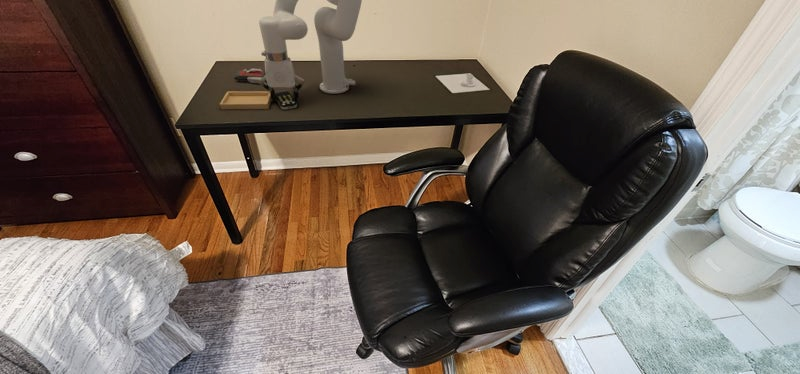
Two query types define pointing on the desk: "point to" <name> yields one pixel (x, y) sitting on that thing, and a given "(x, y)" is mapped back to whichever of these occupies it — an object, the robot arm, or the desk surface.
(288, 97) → the remote control
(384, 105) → the desk surface
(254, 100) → the tray
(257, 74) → the walkie-talkie
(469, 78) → the teacup and saucer
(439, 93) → the desk surface
